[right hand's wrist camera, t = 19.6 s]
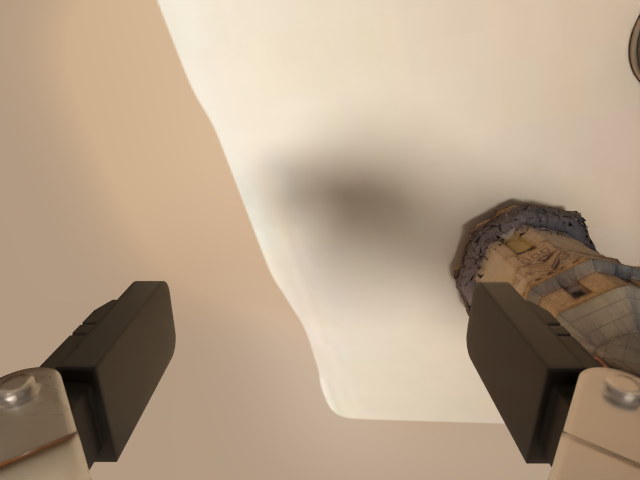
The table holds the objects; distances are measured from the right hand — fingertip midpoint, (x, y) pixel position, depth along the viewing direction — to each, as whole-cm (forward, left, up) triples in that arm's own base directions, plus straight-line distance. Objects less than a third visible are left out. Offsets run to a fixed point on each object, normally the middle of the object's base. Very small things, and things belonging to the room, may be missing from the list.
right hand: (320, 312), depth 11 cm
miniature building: (-23, -5, -32) cm, 40 cm away
